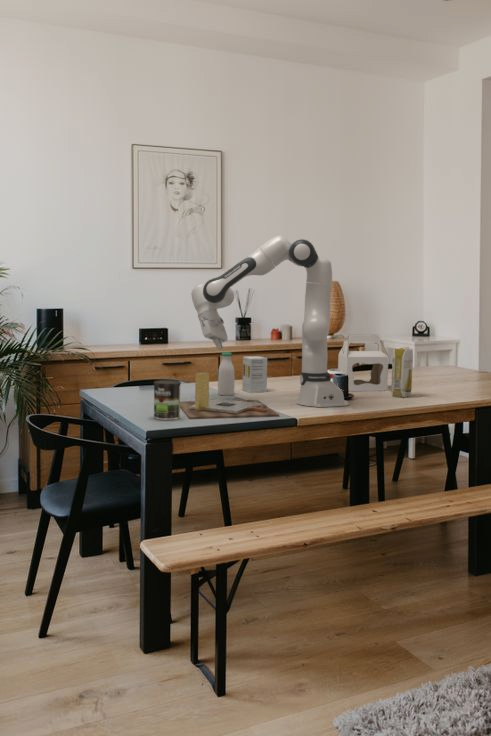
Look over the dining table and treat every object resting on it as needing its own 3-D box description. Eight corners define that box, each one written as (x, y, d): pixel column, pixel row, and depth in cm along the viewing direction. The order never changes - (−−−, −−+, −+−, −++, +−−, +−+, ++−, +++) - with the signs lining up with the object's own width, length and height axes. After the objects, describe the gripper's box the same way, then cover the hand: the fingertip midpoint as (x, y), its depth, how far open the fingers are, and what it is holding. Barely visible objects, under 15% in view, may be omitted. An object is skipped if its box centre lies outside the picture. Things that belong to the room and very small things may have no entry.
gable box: (377, 387, 360) (379, 333, 357) (387, 391, 347) (389, 335, 344) (336, 387, 355) (338, 333, 352) (345, 391, 343) (347, 335, 339)
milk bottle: (237, 395, 326) (238, 353, 324) (223, 396, 322) (224, 353, 320) (228, 392, 333) (229, 351, 330) (214, 394, 328) (215, 352, 326)
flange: (215, 400, 302) (216, 366, 301) (276, 407, 289) (276, 371, 288) (185, 409, 280) (186, 372, 279) (249, 416, 267) (250, 378, 266)
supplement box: (241, 390, 342) (242, 356, 340) (258, 389, 346) (259, 355, 344) (250, 393, 333) (250, 358, 331) (267, 392, 337) (267, 357, 335)
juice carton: (404, 398, 324) (406, 347, 321) (389, 396, 329) (391, 346, 326) (412, 396, 332) (415, 346, 329) (397, 394, 336) (399, 345, 333)
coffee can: (173, 421, 262) (173, 384, 260) (149, 418, 265) (149, 382, 264) (185, 416, 271) (185, 381, 270) (161, 414, 275) (161, 379, 273)
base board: (257, 401, 309) (257, 394, 309) (279, 416, 274) (279, 409, 274) (177, 403, 301) (177, 396, 301) (189, 419, 266) (189, 411, 266)
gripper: (206, 313, 292) (217, 343, 289) (224, 320, 311) (234, 348, 309) (194, 319, 294) (204, 348, 291) (212, 326, 313) (222, 354, 310)
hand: (220, 348), depth 300 cm, fingers closed
